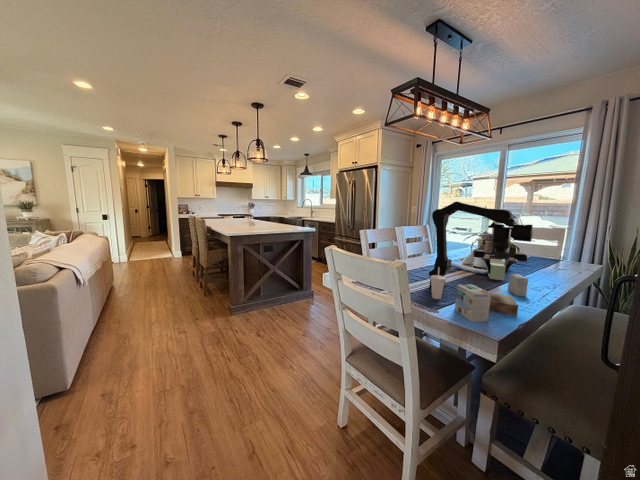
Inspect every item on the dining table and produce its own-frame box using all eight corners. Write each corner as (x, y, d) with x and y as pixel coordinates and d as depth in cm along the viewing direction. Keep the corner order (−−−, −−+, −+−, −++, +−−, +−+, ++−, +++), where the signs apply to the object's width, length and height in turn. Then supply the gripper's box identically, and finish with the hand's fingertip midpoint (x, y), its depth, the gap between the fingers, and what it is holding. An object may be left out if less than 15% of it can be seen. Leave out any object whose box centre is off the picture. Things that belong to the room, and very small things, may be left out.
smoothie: (444, 296, 119) (446, 266, 117) (444, 301, 113) (447, 270, 111) (429, 294, 121) (431, 265, 119) (428, 298, 116) (430, 268, 114)
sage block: (490, 278, 111) (491, 265, 110) (488, 275, 116) (489, 262, 115) (504, 280, 109) (505, 266, 108) (501, 277, 114) (503, 264, 113)
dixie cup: (506, 278, 149) (508, 261, 147) (495, 279, 146) (497, 262, 145) (493, 274, 157) (495, 258, 155) (482, 275, 154) (484, 259, 153)
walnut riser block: (480, 309, 105) (481, 300, 104) (477, 299, 115) (478, 291, 115) (516, 315, 99) (518, 305, 99) (510, 304, 110) (511, 295, 110)
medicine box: (526, 296, 120) (528, 278, 119) (515, 295, 121) (517, 278, 120) (517, 291, 128) (519, 274, 127) (507, 290, 129) (509, 273, 128)
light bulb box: (453, 309, 104) (456, 284, 103) (469, 309, 105) (472, 283, 103) (471, 322, 94) (474, 293, 92) (488, 321, 94) (492, 293, 93)
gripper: (477, 239, 106) (473, 276, 109) (533, 243, 99) (528, 282, 101) (474, 236, 116) (470, 270, 119) (525, 239, 109) (520, 275, 111)
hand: (496, 274), depth 112 cm, fingers closed on sage block, 5 cm apart
